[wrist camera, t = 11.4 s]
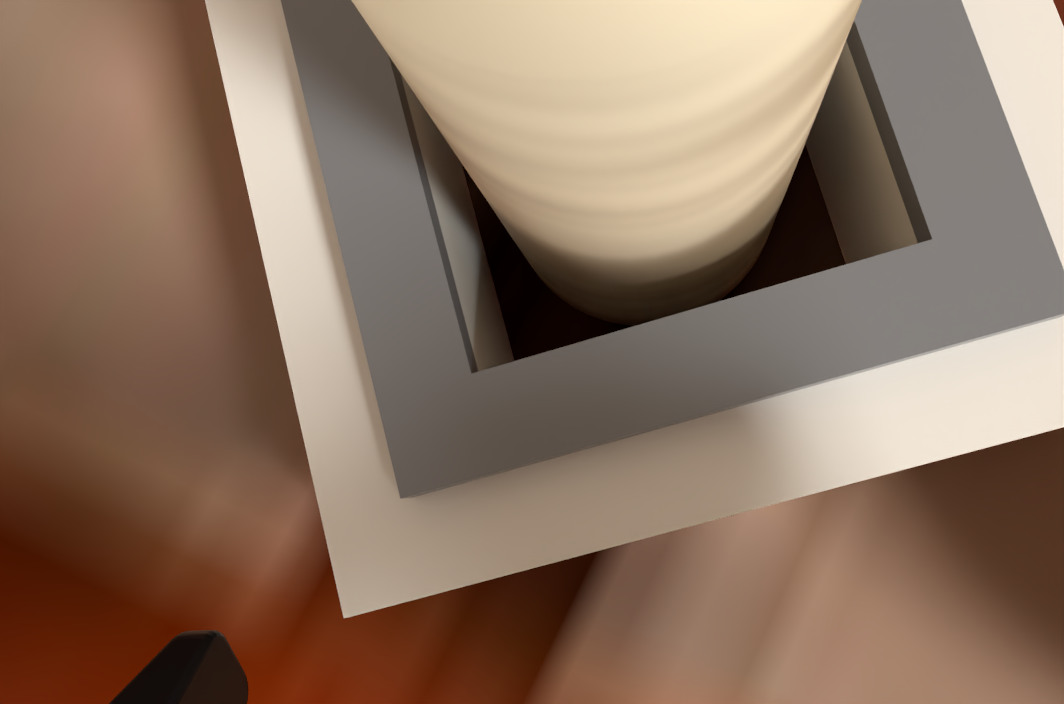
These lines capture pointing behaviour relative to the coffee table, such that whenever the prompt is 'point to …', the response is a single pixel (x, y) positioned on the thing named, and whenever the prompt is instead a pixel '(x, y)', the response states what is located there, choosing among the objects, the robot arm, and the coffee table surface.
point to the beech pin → (624, 130)
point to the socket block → (661, 345)
